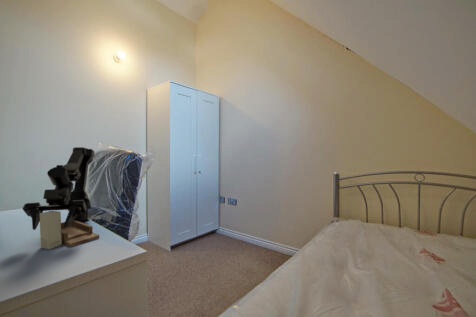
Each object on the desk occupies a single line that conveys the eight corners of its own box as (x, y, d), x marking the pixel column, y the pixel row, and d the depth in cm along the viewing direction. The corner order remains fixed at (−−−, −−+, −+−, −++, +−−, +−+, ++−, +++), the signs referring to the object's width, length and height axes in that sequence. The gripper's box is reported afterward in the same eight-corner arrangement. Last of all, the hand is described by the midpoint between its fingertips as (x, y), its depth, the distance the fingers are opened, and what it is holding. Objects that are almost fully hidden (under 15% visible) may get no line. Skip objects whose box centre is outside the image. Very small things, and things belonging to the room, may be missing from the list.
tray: (73, 228, 98) (73, 219, 98) (99, 237, 88) (99, 228, 88) (46, 235, 89) (46, 226, 89) (70, 247, 79) (70, 236, 79)
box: (62, 245, 80) (62, 211, 80) (48, 250, 76) (48, 214, 76) (53, 243, 82) (52, 210, 82) (39, 247, 78) (38, 213, 78)
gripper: (25, 181, 80) (5, 219, 70) (84, 180, 86) (74, 214, 76) (36, 198, 87) (20, 234, 77) (90, 195, 94) (82, 229, 84)
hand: (49, 227), depth 78 cm, fingers open, 9 cm apart
